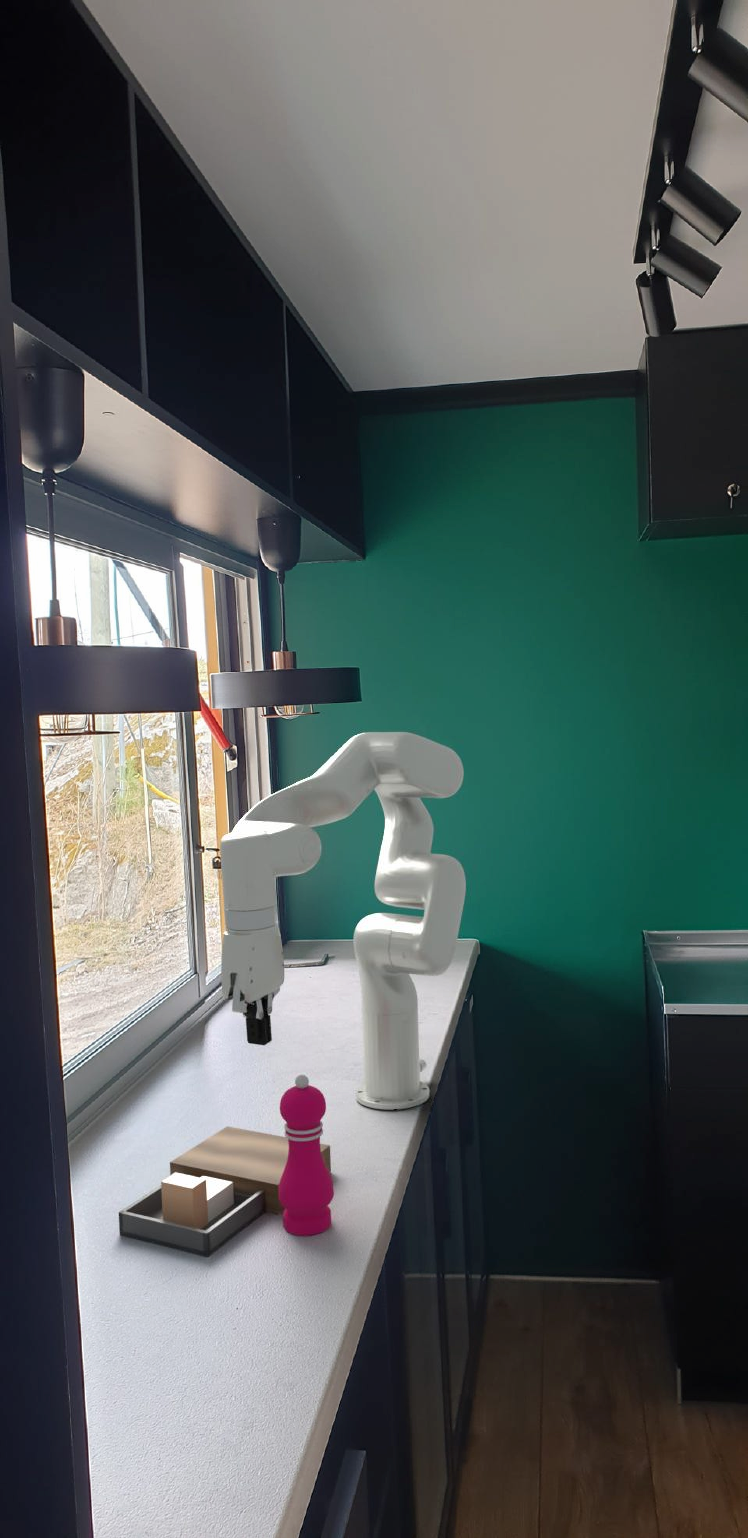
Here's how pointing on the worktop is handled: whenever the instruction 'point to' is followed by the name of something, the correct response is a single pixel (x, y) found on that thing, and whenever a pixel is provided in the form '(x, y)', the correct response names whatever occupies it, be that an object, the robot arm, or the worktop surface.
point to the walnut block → (242, 1162)
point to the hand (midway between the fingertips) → (259, 1042)
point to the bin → (149, 1226)
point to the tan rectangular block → (185, 1200)
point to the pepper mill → (305, 1162)
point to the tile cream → (218, 1196)
